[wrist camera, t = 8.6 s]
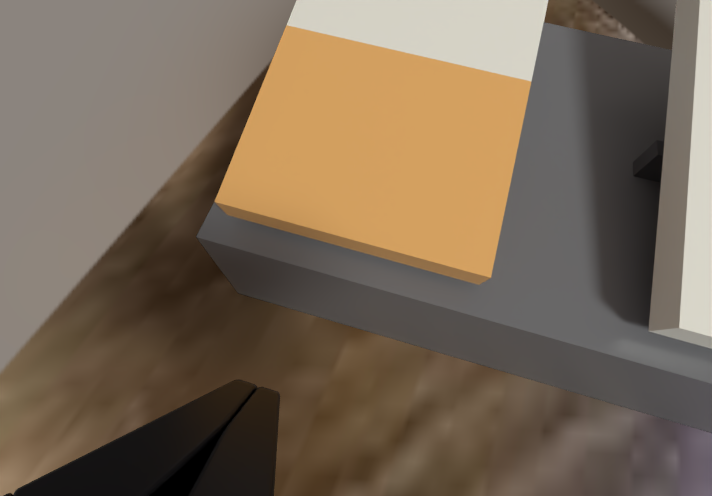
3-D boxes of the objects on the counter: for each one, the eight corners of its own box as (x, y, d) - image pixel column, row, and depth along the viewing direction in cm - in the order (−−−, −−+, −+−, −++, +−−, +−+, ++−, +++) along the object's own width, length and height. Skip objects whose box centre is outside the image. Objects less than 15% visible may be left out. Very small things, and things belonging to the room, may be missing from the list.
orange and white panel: (479, 284, 15) (490, 277, 13) (227, 214, 15) (214, 201, 14) (548, -40, 19) (562, -71, 17) (344, -81, 19) (342, -114, 18)
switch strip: (767, 449, 20) (1045, 461, 12) (238, 293, 22) (182, 218, 14) (727, 169, 27) (884, 63, 19) (333, 75, 29) (330, -53, 21)
